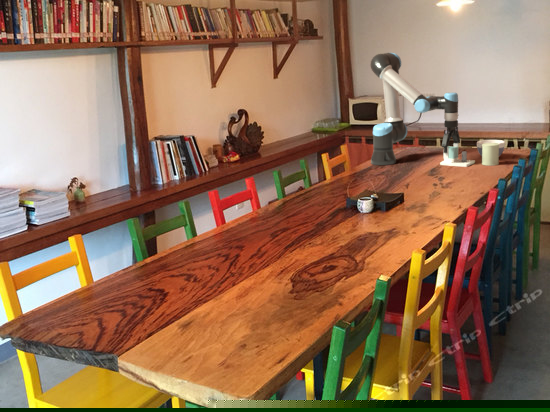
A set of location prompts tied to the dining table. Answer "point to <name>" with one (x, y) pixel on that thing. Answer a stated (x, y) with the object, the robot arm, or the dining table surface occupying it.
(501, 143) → the bowl
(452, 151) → the sleeve
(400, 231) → the dining table surface
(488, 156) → the can
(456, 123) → the robot arm
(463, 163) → the pinboard
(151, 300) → the dining table surface
